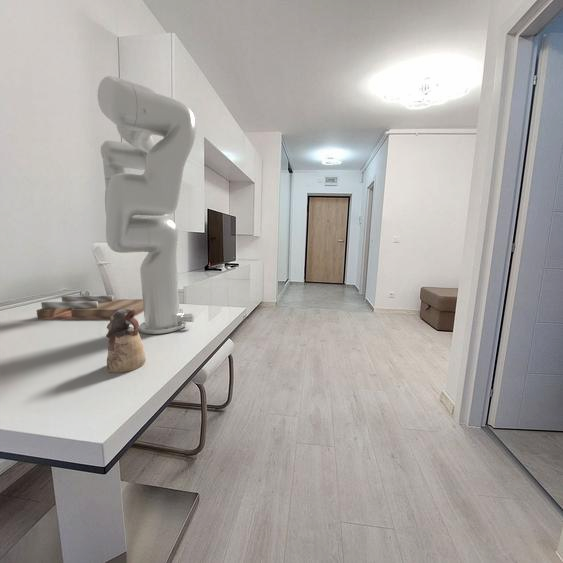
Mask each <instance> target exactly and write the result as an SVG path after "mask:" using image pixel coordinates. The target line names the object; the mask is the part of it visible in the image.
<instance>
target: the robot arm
mask: <svg viewBox="0 0 563 563" xmlns="http://www.w3.org/2000/svg"><path fill="white" fill-rule="evenodd" d="M97 102H98V106H99V109H100V111H101V112H102V113H103V115H104V116H105V117H106V118H107V119H108V120H110V121H111V122H112V123H114V124H115V125H116V129H117V132H118V134H119V135H120V137H121V139H122V140H124V141H125V142H121V141H115V140H105V141H104V142H103V143H102V144H101V146H100V154H101V159H102V164H103V165H102V166H103V174H104V176H103V177H104V184H105V190H104V209H105V238H106V243H107V247H108V248H109V249H110V250H111V251H113V252H115V253H123V254H124V253H125V254H126V253H127V254H128V253H147V255H146V256H145V257H144V259H143V260H142V262H141V265H140V269H139V270H140V272H139V274H140V283H141V284H140V285H141V292H142V293H141V294H142V299H143V307H144V311H143V315H144V316H143V317H144V322H142V323H140V325H139V331H140V332H141V333H144V334H147V335H157V334H158V335H159V334H160V335H161V334H166V333H167V334H168V333H173V332H177V331H179V330H181V329H183V328H184V327H186V325H187V323H193V322H195V315H194V314H192V313H184V310H183V308H182V309H181V308H180V299H179V298H180V297H179V295H180V294H179V285H178V282H179V281H178V268H177V266H178V265H177V247H178V241H179V240H178V238H179V231H178V230H179V229H178V227H177V224H176V223H175V222H174V221H173V219H170V218H168V217H166V216H171V215H172V214H174V213H175V212H176V210H177V207H178V204H179V198H180V193H181V186H182V181H183V177H184V176H183V175H184V170H185V169H184V168H185V165H186V162H187V160H188V157H189V155H190V153H191V151H192V149H193V146H194V143H195V139H196V133H197V132H196V130H197V129H196V128H197V126H196V118H195V115H194V113H193V112H192V110H191V108H190V107H188V106H187V105H186V104H185V103H183V102H182V101H179V100H177V99H174V98H173V97H172V98H171V97H168V96H166V95H162V94H160V93H157V92H155V91H154V90H153V89H151V88H149V87H147V86H144V85H142V84H139V83H135V82H132V81H129V80H125V79H122V78H119V77H115V76H111V75H108V76H104V77H103V78H102V80H101V81H100V82H99V84H98V88H97ZM152 135H154V136H158V137H162V139H160V140H159V141H158V142H156V143H155V140H154V138H153V136H152ZM129 169H134V170H140V171H141V170H142V171H143V170H144V172H143V173H142V174H135V173H130V170H129ZM164 216H165V217H164Z"/></svg>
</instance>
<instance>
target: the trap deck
mask: <svg viewBox="0 0 563 563" xmlns="http://www.w3.org/2000/svg"><path fill="white" fill-rule="evenodd" d="M114 298H115V297H114V295H61V301H42V302H41V303H40V304H41V308H39V309H36V317H37V320H79V319H80V320H92V319H93V320H94V319H95V320H97V319H98V320H100V319H102V320H103V319H109V320H110V318H111V316H112V315H113V314H114V313H115V312H116V311H118V310H121V309H124V310H126V311H127V313H129V312H130V310H132V309H134V310H135V311H136V313H135V315H134V316H133V317H134V318H135V317H136V316H138V315H139V314H142V313H144V307H143V298H141V299H139V298H136V299H135V298H134V299H133V298H130V299H129V298H128V299H123V298H122V299H119V298H117V299H114Z"/></svg>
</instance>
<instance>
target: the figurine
mask: <svg viewBox="0 0 563 563" xmlns="http://www.w3.org/2000/svg"><path fill="white" fill-rule="evenodd" d="M135 313H136V311H135V310H134V309H132V310H130V312H129V313H127V311H126V310H124V309H121V310H118V311H116V312H115V313H114V314H113V315H112V316H111V318H110V319H109V323H108V324H107V326H106V329H108V330H107V333H106V335H105V337H106V338H108V343H107V358H106V365H107V366H106V367H107V371H108V372H110V373H114V374H121V373H127V372H131V371H134V370H137V369H139V368H141V367H143V366H144V365H145V363H146V361H147V357H146V356H147V355H146V351H145V346H144V343H143V341H142V338H141V335H140V333H139V331H140V329H139V326H140V325H139V324H140V323H139V321H138V319H136V318H135V316H134V315H135ZM133 316H134V317H133ZM130 325H132V326H133V327H132V326H130Z"/></svg>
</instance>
